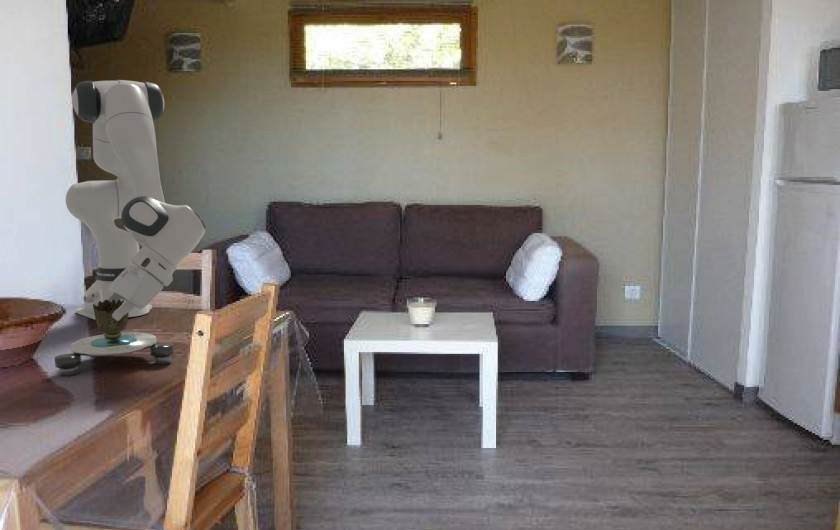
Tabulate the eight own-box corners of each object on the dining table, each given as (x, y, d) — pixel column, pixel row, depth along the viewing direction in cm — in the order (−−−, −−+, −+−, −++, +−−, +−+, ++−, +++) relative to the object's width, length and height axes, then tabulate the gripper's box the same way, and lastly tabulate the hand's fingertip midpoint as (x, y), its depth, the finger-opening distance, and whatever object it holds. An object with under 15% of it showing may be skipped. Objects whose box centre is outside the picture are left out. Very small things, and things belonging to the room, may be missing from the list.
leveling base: (27, 368, 162) (25, 343, 161) (119, 345, 181) (117, 323, 180) (91, 386, 149) (88, 359, 148) (183, 360, 167) (181, 336, 166)
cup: (118, 346, 163) (116, 312, 161) (87, 341, 164) (86, 307, 162) (137, 334, 170) (135, 301, 168) (107, 329, 171) (106, 297, 169)
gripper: (128, 253, 176) (87, 299, 171) (153, 263, 159) (108, 314, 155) (149, 270, 179) (109, 315, 175) (175, 281, 162) (131, 331, 158)
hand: (109, 315), depth 165 cm, fingers open, 8 cm apart
